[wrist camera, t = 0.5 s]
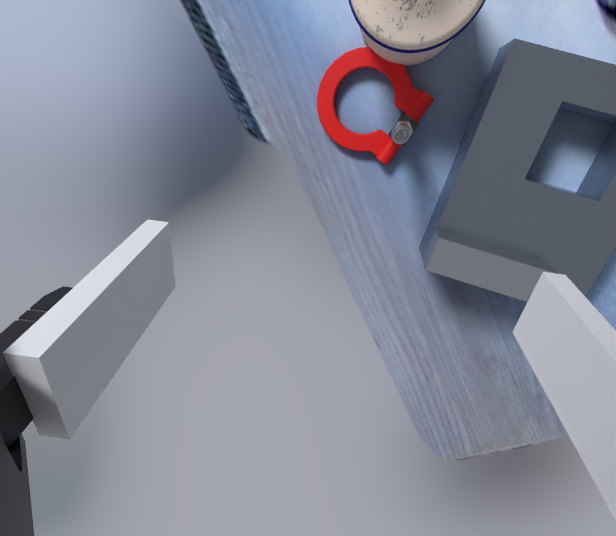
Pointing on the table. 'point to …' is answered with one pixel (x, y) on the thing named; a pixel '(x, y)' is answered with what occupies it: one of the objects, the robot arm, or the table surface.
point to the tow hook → (404, 100)
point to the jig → (526, 180)
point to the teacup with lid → (412, 26)
